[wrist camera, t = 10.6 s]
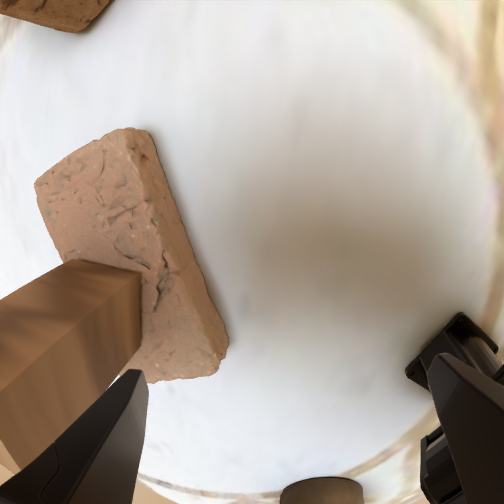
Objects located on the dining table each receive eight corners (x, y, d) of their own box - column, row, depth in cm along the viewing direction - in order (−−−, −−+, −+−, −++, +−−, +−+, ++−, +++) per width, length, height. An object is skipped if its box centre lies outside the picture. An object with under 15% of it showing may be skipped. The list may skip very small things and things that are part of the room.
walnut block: (138, 274, 17) (-18, 408, 6) (141, 345, 19) (33, 486, 8) (72, 258, 18) (-78, 351, 7) (79, 326, 19) (-36, 433, 8)
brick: (236, 344, 23) (223, 383, 19) (145, 359, 25) (121, 392, 21) (155, 125, 19) (119, 119, 15) (68, 172, 21) (26, 179, 17)
